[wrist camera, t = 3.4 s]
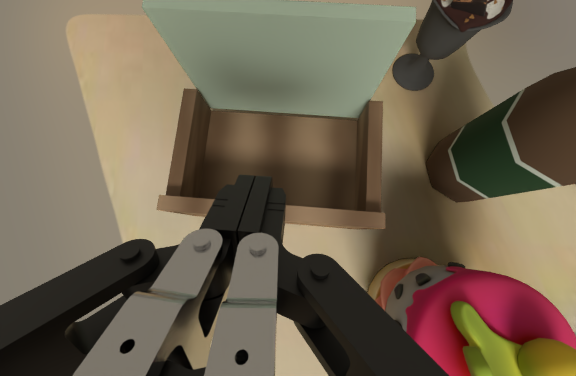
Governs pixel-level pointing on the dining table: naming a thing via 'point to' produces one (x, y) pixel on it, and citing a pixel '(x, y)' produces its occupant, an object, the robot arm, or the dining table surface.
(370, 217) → the wooden box
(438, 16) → the sundae
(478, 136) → the beer bottle
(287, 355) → the dining table surface
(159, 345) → the robot arm
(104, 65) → the dining table surface
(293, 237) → the dining table surface
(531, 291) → the cake
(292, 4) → the pale green panel
